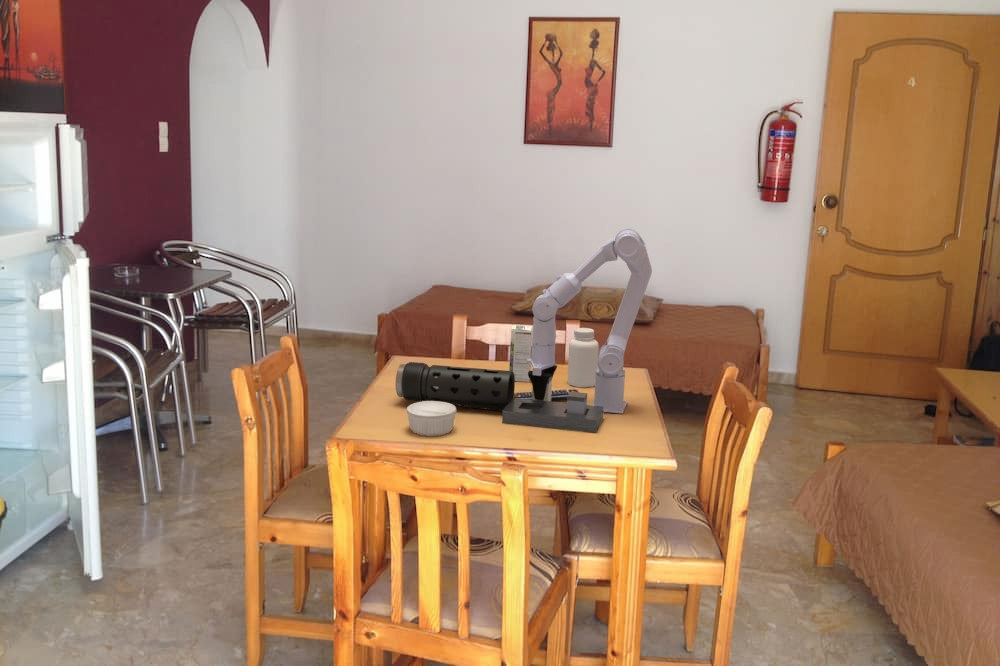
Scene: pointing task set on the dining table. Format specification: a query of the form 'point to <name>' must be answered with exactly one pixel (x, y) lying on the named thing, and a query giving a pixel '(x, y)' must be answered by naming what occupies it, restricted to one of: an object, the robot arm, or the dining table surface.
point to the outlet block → (551, 415)
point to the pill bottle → (583, 358)
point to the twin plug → (577, 403)
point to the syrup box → (520, 352)
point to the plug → (548, 391)
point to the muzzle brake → (456, 385)
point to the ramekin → (431, 417)
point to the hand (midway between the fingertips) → (541, 396)
